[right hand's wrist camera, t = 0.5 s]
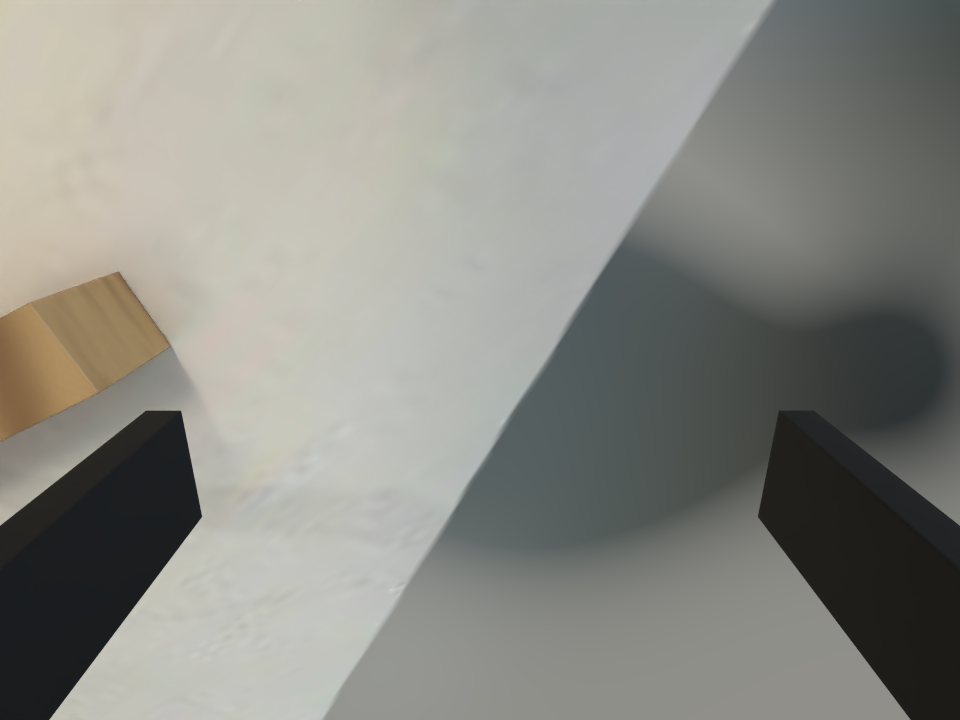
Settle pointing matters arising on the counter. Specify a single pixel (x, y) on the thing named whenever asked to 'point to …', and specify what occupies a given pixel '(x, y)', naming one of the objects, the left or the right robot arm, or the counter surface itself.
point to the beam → (70, 349)
